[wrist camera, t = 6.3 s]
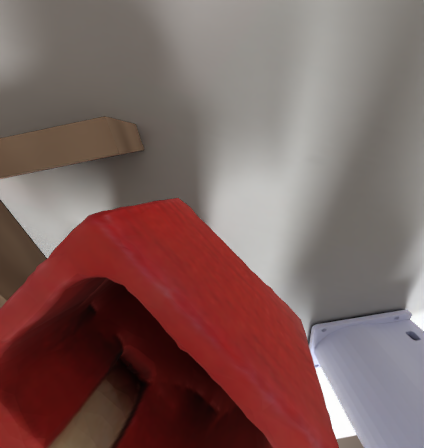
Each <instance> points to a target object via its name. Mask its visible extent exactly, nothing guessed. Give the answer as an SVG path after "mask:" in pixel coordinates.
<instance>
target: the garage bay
mask: <svg viewBox="0 0 424 448" xmlns="http://www.w3.org/2000/svg"><path fill="white" fill-rule="evenodd" d="M141 150H144V147H143V144H142V141H141V138H140V135H139V132H138V129H137V126H136V124H133V123H129V122H125V121H121V120H117V119H113V118H110V117H106V116H104V117H99V118H95V119H90V120H85V121H80V122H75V123H71V124H66V125H61V126H56V127H52V128H47V129H42V130H37V131H32V132H28V133H23V134H18V135H13V136H9V137H4V138H0V179H3V178H8V177H13V176H17V175H22V174H27V173H32V172H37V171H42V170H47V169H52V168H57V167H62V166H67V165H72V164H77V163H82V162H87V161H92V160H97V159H102V158H107V157H112V156H117V155H122V154H127V153H131V152H136V151H141ZM45 260H46V258H45V256H44V255H43V254H42V253H41V251H40V250H39V249H38V248H37V246H36V245H35V244H34V243H33V241H32V240H31V239H30V237H29V236H28V235H27V234H26V232H25V231H24V230H23V229H22V227H21V226H20V225H19V224H18V222H17V221H16V220H15V219H14V217H13V216H12V215H11V214H10V212H9V211H8V210H7V208H6V207H5V206H4V205H3V203H2V202H1V201H0V308H1V307H2V306H3V305H4V304H5V302H6V301H7V300H8V299H9V298H10V297H11V296H12V295H13V294H14V293H15V292H16V291H17V290H18V289H19V288H20V287H21V286H22V285H23V284H24V283H25V282H26V280H27V278H28V277H29V276H30V275H31V274H32V273H33V272H34V271H35V270H36V268H37V266H38V265H39V264H41V263H42V262H44V261H45Z"/></svg>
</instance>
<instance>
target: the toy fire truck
mask: <svg viewBox="0 0 424 448" xmlns="http://www.w3.org/2000/svg"><path fill="white" fill-rule="evenodd" d="M0 448H339V447H338V443H337V440H336V438H335V435H334V432H333V429H332V425H331V421H330V416H329V413H328V411H327V409H326V405H325V401H324V397H323V393H322V390H321V386H320V383H319V380H318V377H317V374H316V370H315V366H314V362H313V358H312V355H311V352H310V349H309V346H308V340H307V337H306V333H305V330H304V327H303V324H302V322H301V319H300V318H299V317H298V316H297V315H296V314H295V313H294V312H293V311H292V309H291V308H290V307H289V306H288V305H287V304H286V303H285V302H284V301H283V300H282V299H281V298H279V297H278V296H277V295H276V294H275V292H274V291H273V290H272V289H271V287H269V286H267V285H266V284H265V283H264V282H263V281H262V280H261V279H260V278H259V277H258V276H257V275H256V274H255V273H254V272H252V271H251V270H250V269H249V267H248V266H247V265H246V264H245V263H244V262H243V261H242V260H241V259H240V258H239V257H238V256H237V255H236V254H235V253H234V252H233V251H232V250H231V249H230V248H229V247H228V246H227V245H226V244H225V243H224V242H223V241H222V240H221V239H220V238H219V237H218V236H217V235H216V234H215V233H214V232H213V231H212V230H211V228H210V227H209V226H208V225H207V224H205V223H204V222H203V221H202V220H201V219H200V218H199V217H198V216H197V215H196V214H195V212H194V211H193V210H192V209H191V208H190V207H189V206H188V205H187V204H185V203H184V202H183V201H182V200H180V199H179V198H174V199H167V200H159V201H153V202H148V203H142V204H139V205H135V206H126V207H120V208H116V209H113V210H107V211H101V212H98V213H95V214H92V215H89V216H88V217H87V218H86V219H85V220H84V221H83V222H82V223H81V224H79V225H78V226H77V227H76V228H74V229H73V230H72V231H71V232H70V234H69V235H68V236H67V237H66V238H65V239H64V240H63V241H62V242H61V243H60V244H59V245H58V246H57V247H56V248H55V249H54V250H53V252H52V253H51V255H50V256H49V258H48V259H46V260H45V261H44V262H42V263H41V264H39V265H38V266H37V268H36V270H35V271H34V272H33V273H32V274H31V275H30V276H29V277H28V278H27V280H26V282H25V283H24V284H23V285H22V286H21V287H20V288H19V289H18V290H17V291H16V292H15V293H14V294H13V295H12V296H11V297H10V298H9V299H8V300H7V301H6V302H5V304H4V305H3V306H2V307H1V308H0Z"/></svg>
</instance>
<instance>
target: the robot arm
mask: <svg viewBox="0 0 424 448" xmlns="http://www.w3.org/2000/svg"><path fill="white" fill-rule="evenodd" d="M411 316H412V313H411V312H409V311H408V310H400V311H394V312H388V313H382V314H376V315H370V316H364V317H358V318H352V319H346V320H340V321H334V322H328V323H322V324H316V325H314V326H313V327H312V330H311V337H310V343H309V349H310V352H311V355H312V358H313V362H314V366H315V368H317V367H321V368H322V370H323V372H324V373H325V375H326V377H327V379H328V381H329V383H330V385H331V387H332V389H333V390H334V392H335V394H336V396H337V398H338V400H339V402H340V404H341V405H342V407H343V409H344V411H345V413H346V415H347V417H348V419H349V421H350V422H351V424H352V426H353V428H354V430H355V432H356V434H357V436H358V438H359V439H360V441H361V443H362V445H363V447H364V448H424V331H423V330H421V329H420V328H419V327H418V326H417V325H416V324H414V323H413V322H412V321H411V320H410V318H411Z"/></svg>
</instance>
